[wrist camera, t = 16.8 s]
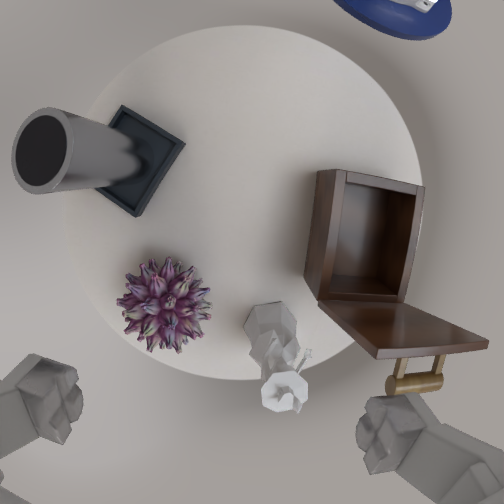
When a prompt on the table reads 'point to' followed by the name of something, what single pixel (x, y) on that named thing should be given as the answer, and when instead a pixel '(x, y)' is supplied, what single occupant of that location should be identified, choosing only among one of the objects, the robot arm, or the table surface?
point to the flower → (165, 305)
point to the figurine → (277, 356)
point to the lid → (402, 339)
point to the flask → (76, 154)
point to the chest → (362, 237)
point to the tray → (164, 156)
